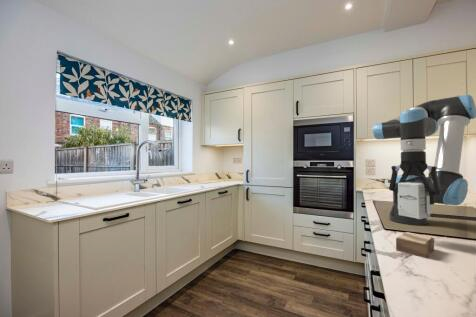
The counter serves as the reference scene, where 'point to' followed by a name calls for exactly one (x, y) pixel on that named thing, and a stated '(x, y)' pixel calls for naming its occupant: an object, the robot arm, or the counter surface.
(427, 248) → the brown wooden block
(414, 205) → the supplement box
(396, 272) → the counter surface
